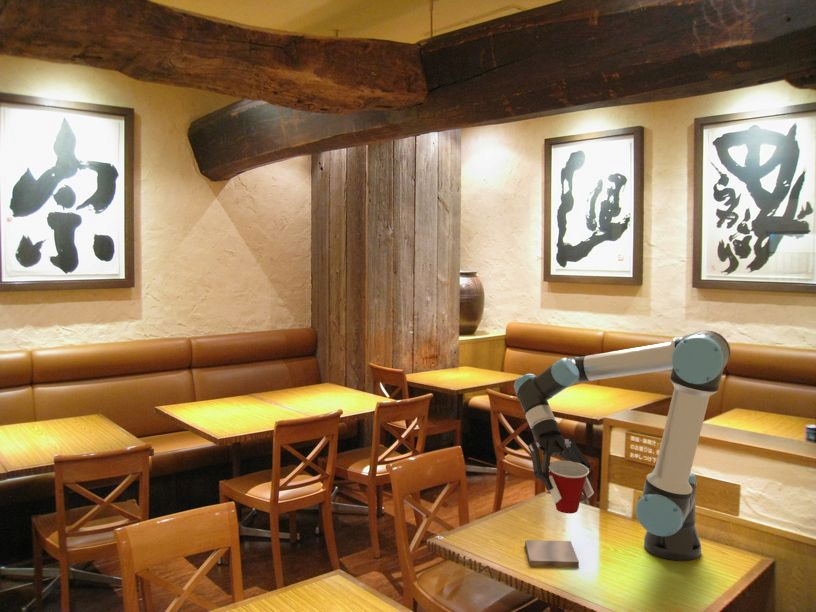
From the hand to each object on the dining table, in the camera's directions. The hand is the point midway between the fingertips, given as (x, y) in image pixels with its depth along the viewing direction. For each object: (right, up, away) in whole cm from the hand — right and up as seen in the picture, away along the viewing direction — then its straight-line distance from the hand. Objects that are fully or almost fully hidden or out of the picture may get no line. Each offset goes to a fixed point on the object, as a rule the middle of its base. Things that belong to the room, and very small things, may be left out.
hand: (574, 498), depth 179 cm
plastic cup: (-1, -4, +3) cm, 6 cm away
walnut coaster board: (-4, -19, +10) cm, 22 cm away
